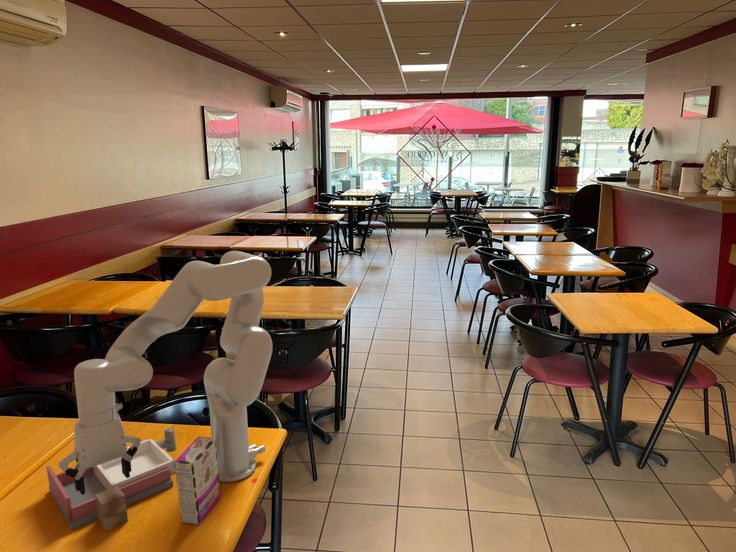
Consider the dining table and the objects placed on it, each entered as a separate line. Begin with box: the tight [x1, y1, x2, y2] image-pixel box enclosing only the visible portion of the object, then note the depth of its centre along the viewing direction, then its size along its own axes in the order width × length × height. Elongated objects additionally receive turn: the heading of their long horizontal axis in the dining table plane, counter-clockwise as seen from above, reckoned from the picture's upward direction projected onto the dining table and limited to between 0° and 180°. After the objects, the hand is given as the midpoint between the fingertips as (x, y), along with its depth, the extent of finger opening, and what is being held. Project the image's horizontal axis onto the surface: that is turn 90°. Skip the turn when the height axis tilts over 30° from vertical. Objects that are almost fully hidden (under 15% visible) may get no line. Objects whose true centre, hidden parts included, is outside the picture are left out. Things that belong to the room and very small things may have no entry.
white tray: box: [93, 427, 177, 490], centre depth 143 cm, size 20×16×7 cm
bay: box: [46, 465, 174, 530], centre depth 137 cm, size 24×20×8 cm
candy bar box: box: [174, 436, 222, 526], centre depth 128 cm, size 11×5×16 cm, turn 168°
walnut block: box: [95, 486, 129, 532], centre depth 125 cm, size 5×5×7 cm
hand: (104, 483), depth 123 cm, fingers open, 9 cm apart
